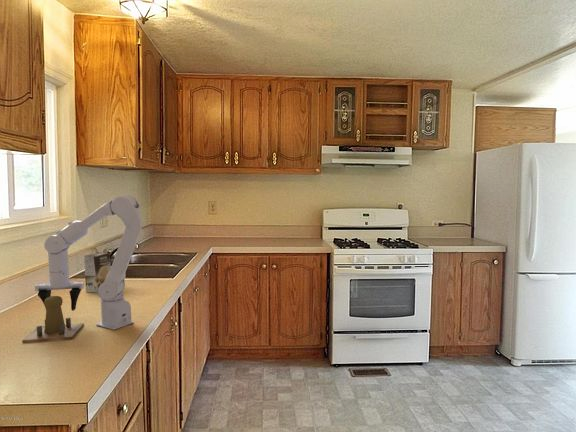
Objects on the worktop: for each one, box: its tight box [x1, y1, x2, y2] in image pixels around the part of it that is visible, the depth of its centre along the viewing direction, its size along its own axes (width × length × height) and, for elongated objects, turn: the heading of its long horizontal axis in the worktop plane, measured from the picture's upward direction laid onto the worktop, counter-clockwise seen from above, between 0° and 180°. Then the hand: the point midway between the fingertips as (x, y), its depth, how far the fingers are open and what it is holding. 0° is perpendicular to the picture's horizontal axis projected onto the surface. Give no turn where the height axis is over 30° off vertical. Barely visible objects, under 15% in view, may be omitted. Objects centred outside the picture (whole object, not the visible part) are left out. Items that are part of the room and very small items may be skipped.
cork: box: [43, 295, 66, 334], centre depth 133 cm, size 6×6×11 cm
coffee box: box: [83, 252, 111, 294], centre depth 184 cm, size 9×6×16 cm
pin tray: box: [22, 317, 85, 344], centre depth 132 cm, size 14×12×4 cm
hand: (61, 310), depth 139 cm, fingers open, 7 cm apart
